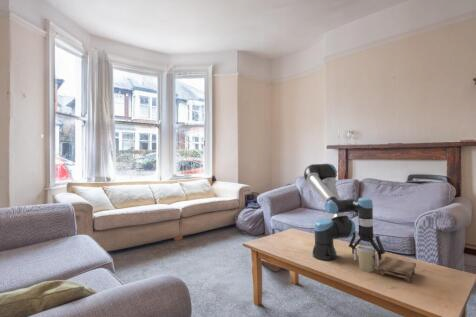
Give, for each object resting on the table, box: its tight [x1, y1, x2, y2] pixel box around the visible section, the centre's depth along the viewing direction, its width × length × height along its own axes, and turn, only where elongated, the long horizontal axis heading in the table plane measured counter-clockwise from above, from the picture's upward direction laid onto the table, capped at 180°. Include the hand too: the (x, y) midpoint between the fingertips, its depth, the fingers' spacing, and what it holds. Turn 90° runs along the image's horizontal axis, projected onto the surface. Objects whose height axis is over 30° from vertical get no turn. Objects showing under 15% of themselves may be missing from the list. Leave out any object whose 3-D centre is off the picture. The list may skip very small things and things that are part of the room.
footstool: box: [378, 256, 417, 284], centre depth 146 cm, size 15×15×6 cm
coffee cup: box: [357, 245, 376, 272], centre depth 154 cm, size 9×9×12 cm
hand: (366, 262), depth 154 cm, fingers open, 12 cm apart
